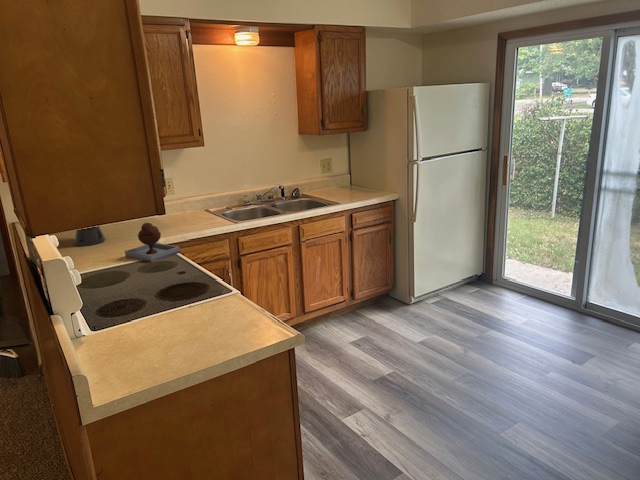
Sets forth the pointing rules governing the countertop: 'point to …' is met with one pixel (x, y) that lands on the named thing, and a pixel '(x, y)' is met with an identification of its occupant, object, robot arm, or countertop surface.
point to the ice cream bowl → (149, 236)
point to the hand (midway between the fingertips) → (116, 181)
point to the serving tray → (161, 253)
